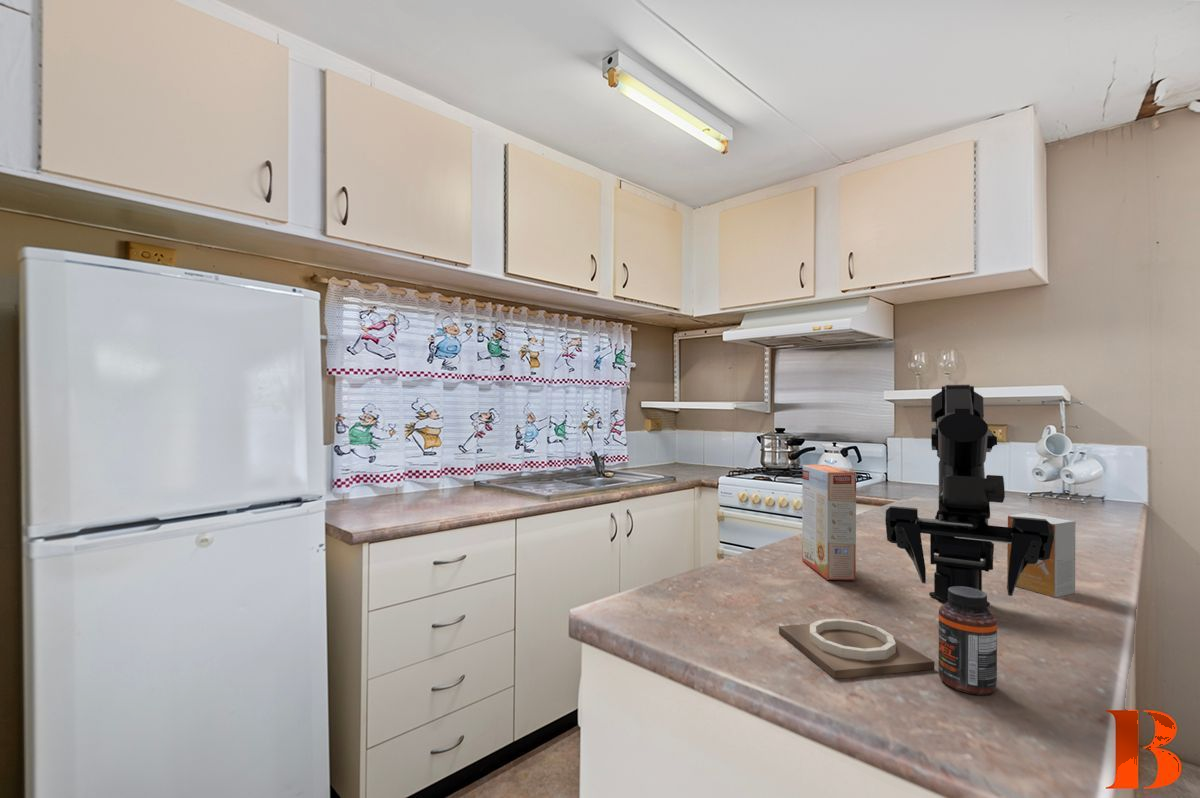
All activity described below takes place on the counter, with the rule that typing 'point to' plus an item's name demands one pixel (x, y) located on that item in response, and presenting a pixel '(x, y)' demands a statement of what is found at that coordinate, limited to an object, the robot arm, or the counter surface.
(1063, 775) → the counter surface
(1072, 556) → the small box
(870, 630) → the collar
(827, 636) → the board
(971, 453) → the robot arm
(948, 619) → the supplement bottle
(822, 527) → the cracker box
